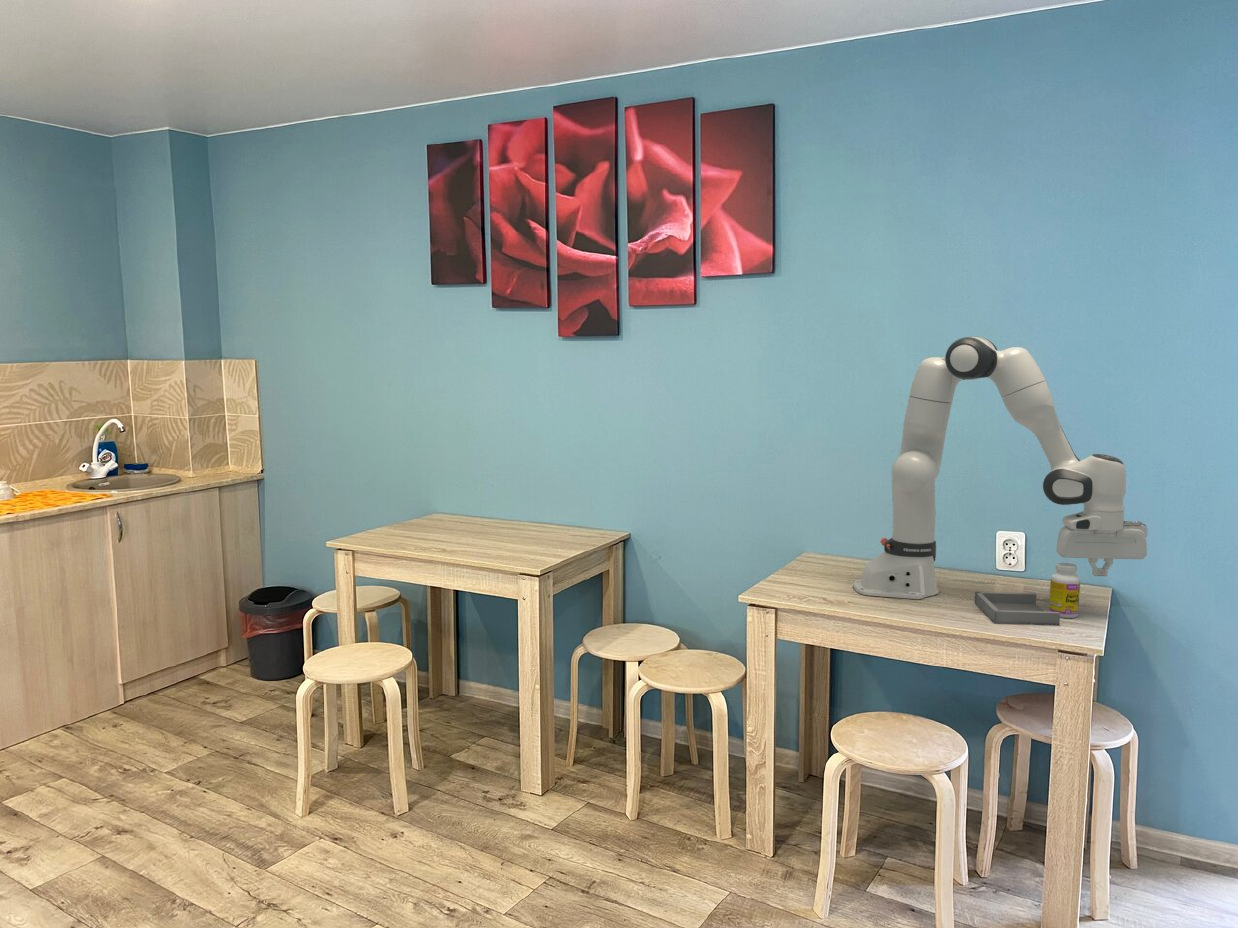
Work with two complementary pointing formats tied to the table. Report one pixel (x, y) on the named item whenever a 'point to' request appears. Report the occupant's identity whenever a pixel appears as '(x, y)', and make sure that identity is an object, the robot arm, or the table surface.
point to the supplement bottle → (1065, 591)
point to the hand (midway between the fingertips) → (1099, 575)
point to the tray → (1014, 608)
